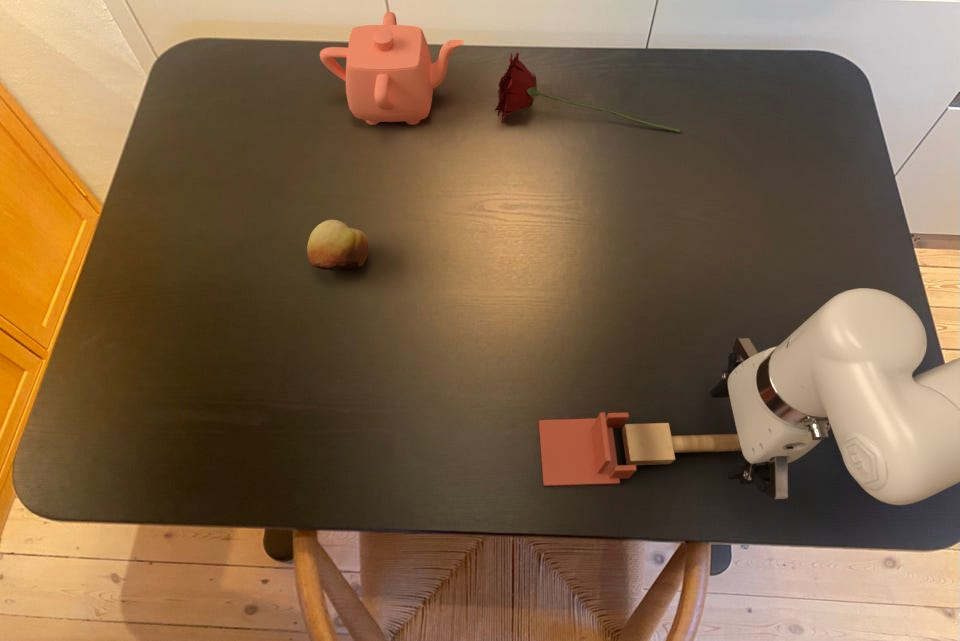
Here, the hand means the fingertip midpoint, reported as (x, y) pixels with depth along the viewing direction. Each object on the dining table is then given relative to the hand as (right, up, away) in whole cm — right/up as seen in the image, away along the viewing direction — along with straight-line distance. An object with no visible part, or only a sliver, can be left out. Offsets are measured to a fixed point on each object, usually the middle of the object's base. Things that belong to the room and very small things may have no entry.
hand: (731, 434), depth 70 cm
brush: (-4, -2, +3) cm, 6 cm away
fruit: (-49, +21, +16) cm, 55 cm away
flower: (-12, +46, +28) cm, 55 cm away
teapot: (-42, +49, +30) cm, 72 cm away
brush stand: (-17, -3, +3) cm, 17 cm away
